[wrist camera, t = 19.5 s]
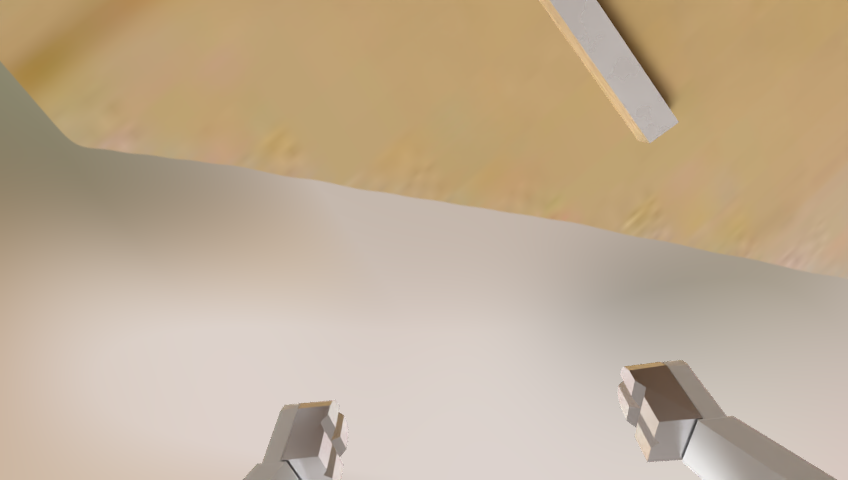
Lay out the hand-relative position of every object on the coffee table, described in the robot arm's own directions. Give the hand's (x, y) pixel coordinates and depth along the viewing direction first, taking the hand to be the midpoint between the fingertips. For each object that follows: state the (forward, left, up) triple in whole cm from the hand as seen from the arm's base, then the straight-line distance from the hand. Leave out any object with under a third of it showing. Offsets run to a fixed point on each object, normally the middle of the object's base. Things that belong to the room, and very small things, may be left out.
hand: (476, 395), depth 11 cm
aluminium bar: (+3, +18, -34) cm, 38 cm away
